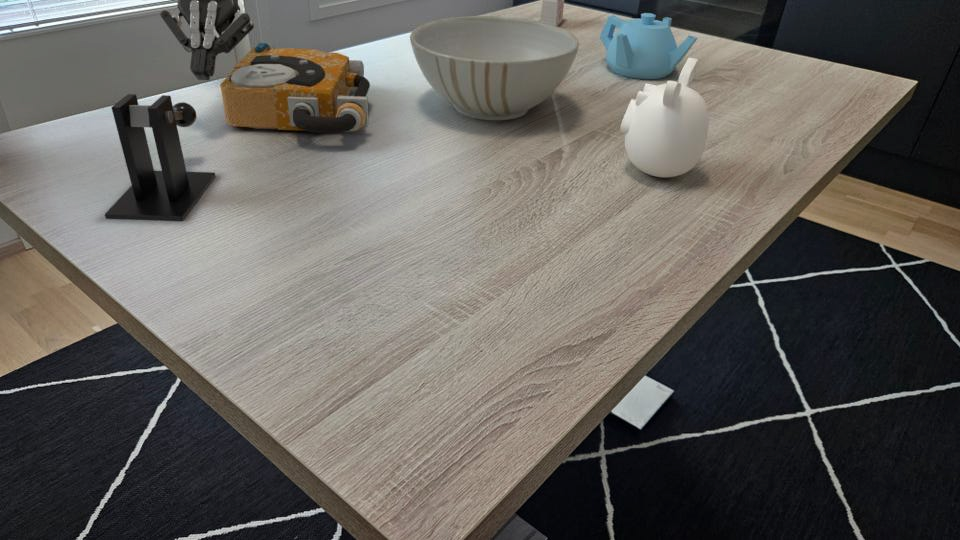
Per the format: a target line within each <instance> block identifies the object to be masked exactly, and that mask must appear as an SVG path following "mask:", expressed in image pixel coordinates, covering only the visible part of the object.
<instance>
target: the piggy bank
mask: <svg viewBox="0 0 960 540" xmlns="http://www.w3.org/2000/svg"><path fill="white" fill-rule="evenodd" d="M698 64H699V59H697V58H694V57H690V56H689V57H688V58H687V60H686V62H685V63H684V65H683V67H682V69H681V71H680V74H679V76H678V79H677V80H678V81H675V80H671V79H670V80H667V82H666V83H663V84H658V85H655V84H651V83H647V82H646V83H645V84H644V87H643V90H638V91H637V94H636V98H632V99H630V101H629V103H628V105H627V108H626V111H625V113H624V115H623V118H622V120H621V123H620V127H619V133H620V134H622V135H624V150H625V153H626V156H627V157H628V160H629V161H630V162H631V163H632V165H633V166H634V167H636V168H637V169H638V170H640V172H643V173H645V174H647V175H649V176H653V177H656V178H675V177H678V176H681V175H684V174H686V173H687V172H689V171H690V170H692V169H693V168H694V167H695V166H696V165H697V164H698V162H699V161H700V159H701V157H702V156H703V154H704V151H705V148H706V144H707V140H708V135H709V134H708V133H709V112H708V107H707V103H706V101H705V99H704V98H703V97H702V95H701V94H700V93H698V92H697V90H694V89H693V88H691V87H690V86H691V84H692V82H693V79H694V76H695V73H696V71H697V68H698Z"/></svg>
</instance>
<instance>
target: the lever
mask: <svg viewBox="0 0 960 540" xmlns="http://www.w3.org/2000/svg"><path fill="white" fill-rule="evenodd" d="M150 106H151V105H149V104H148V105H145V104H143V105H142V104H138V105H129V110H130V123H131V127H144V128H152V126H151V122H150V117H149V113H148V108H149V107H150ZM173 110H174V115H175V120H176V124H177V127H179V128H189V127H192V126H193V125H194V124H195V123H196V121H197V118H198V117H197V111H196V109H195V108H194V107H193V106H192V105H191V104H190V103H187V102H177V103H175V104H174V105H173Z"/></svg>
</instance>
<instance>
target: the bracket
mask: <svg viewBox="0 0 960 540" xmlns="http://www.w3.org/2000/svg"><path fill="white" fill-rule="evenodd" d="M129 105H139V101H138V97H137V94H134V93H128V94H126V95H125V96H123V97H122V98H121V99H120V100H119V101H117V102H116V103H115V104H113V105H112V106H111V111H112V115H113V120H114V123H115V126H116V127H115V128H116V131H117V134H118V138H119V143H120V146H121V149H122V153H123V157H124V161H125V165H126V169H127V172H128V176H129V181H130V184H131V185H130V186H129V187H128V189H126V191H125V192H124V193H123V194H122V195H121V196H120V197H119V198H118V199H117V200H116V201H115V202H114V204H113V205H112V206H111V207H110V208H109V209H108V210H107V211H106V212H105V213H104V217H105V219H106V220H131V221H133V220H134V221H161V222H163V221H164V222H184V221H185V220H186V218H187V217H188V215H190V213H191V212H192V210H193V209H194V207H195V206H196V205H197V203H198V202H199V200H200V199H201V198H202V197H203V195H204V194H205V192H206V191H207V189H208V188H209V187H210V185H211V184H212V183H213V181H214V180H215V178H216V172H207V171H187V167H186V162H185V157H184V153H183V148H182V143H181V139H180V135H179V130H178V126H177V124H176V120H175V115H174V110H173V106H174V105H173V101H172V96H171V95H164V94H163V95H161V96H160V97H158V98H157V99H156V100H155V101H154V102H153V103H151V105H149V106H150V107H149V108H148V113H149V117H150V122H151V126H152V127H151V131H152V135H153V139H154V144H155V147H156V152H157V156H158V161H159V165H160V169H161V170H155V168H154V164H153V159H152V156H151V152H150V147H149V143H148V139H147V134H146V130H145V127H131V123H130V110H129Z"/></svg>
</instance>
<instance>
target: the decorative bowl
mask: <svg viewBox="0 0 960 540" xmlns="http://www.w3.org/2000/svg"><path fill="white" fill-rule="evenodd" d="M409 35H410V36H409V40H410V44H411V49H412V53H413V55H414V59H415V60H416V63H417V65H418V67H419V70H420V71H421V73H422V75H423V77H424V78H425V80H426V81H427V82H428V84H429V86H430V87H431V88H432V89H433V91H435V92H436V93H437V94H438V95H439V96H440V97H441V98H442V99H443V100H445V102H447V103H449V104H450V105H452V106H453V107H454V109H455V110H456V111H457V112H458V113H460V114H461V115H463V116H466V117H469V118H472V119H476V120H483V121H507V120H513V119H517V118H521V117H522V116H524V115H526V114H527V113H528V112H529V110H530V109H532V108H534V107H536V106H537V105H539V104H541V103H543V101H545V100H546V99H548V97H550V95H552V94H553V93H554V92H555V91H556V89H557V88H558V87H559V86H560V85H561V84H562V82H563V80H564V79H565V78H566V76H567V74H568V73H569V71H570V69H571V67H572V65H573V63H574V61H575V59H576V56H577V55H578V50H579V48H580V41H579V39H578V38H577V36H576V35H575V34H574V33H572V32H570V31H569V30H567V29H565V28H562V27H560V26H558V27H557V26H554V25H551V24H547V23H543V22H541V21H538V20H534V19H528V18H521V17H511V16H497V15H496V16H495V15H470V16H469V15H468V16H456V17H455V16H454V17H447V18H441V19H435V20H431V21H428V22H425V23H422V24H420V25H419V26H417V27H415V28H414V29H413V30H412V31H411V32H410V34H409Z"/></svg>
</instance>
